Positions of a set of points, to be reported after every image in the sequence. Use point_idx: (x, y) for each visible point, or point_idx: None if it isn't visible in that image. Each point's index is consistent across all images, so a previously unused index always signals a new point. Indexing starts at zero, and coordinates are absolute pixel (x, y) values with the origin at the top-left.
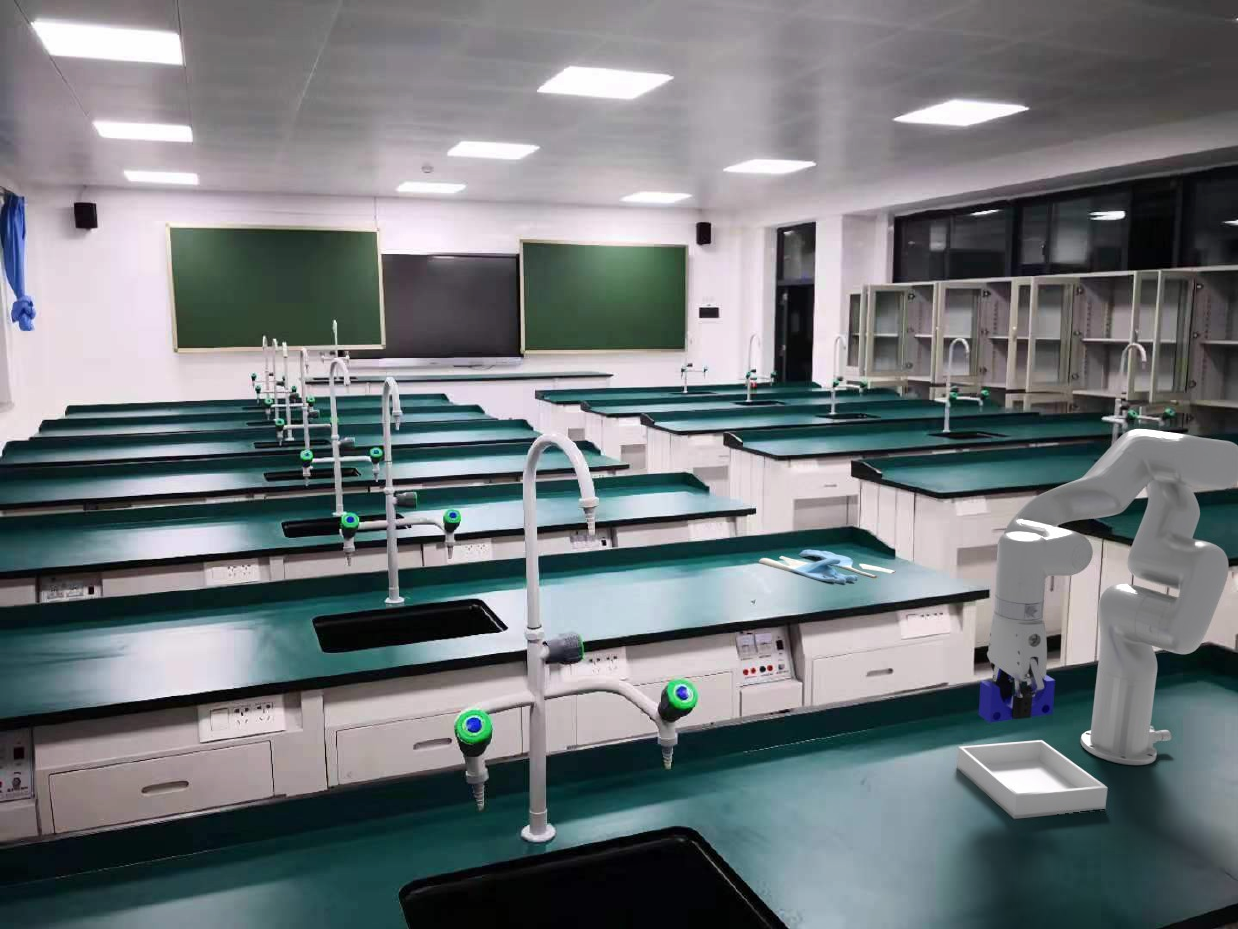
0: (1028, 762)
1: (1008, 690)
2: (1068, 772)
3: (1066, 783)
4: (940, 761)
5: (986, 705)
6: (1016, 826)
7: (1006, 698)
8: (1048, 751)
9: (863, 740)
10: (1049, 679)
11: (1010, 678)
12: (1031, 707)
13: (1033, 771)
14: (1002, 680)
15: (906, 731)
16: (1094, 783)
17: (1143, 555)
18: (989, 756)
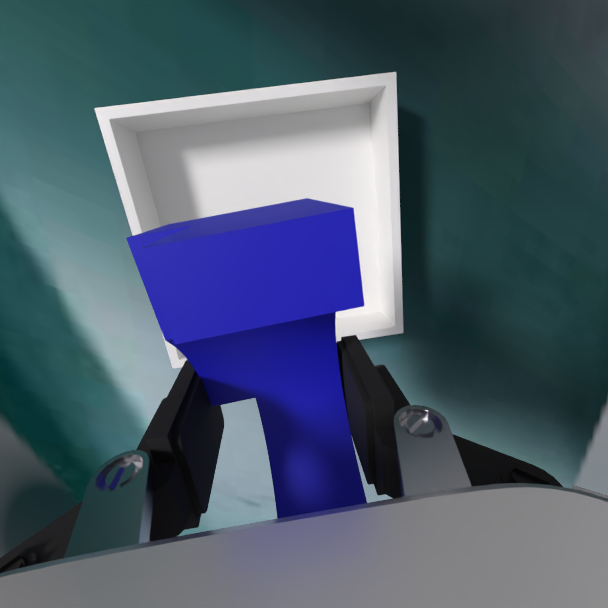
0: (158, 174)
1: (196, 420)
2: (250, 111)
3: (266, 129)
4: (161, 365)
5: None
6: (408, 320)
7: (210, 399)
8: (153, 117)
9: (85, 475)
10: (328, 263)
11: (149, 463)
12: (367, 356)
13: (207, 186)
14: (183, 510)
15: (16, 390)
16: (355, 91)
17: None
18: None
